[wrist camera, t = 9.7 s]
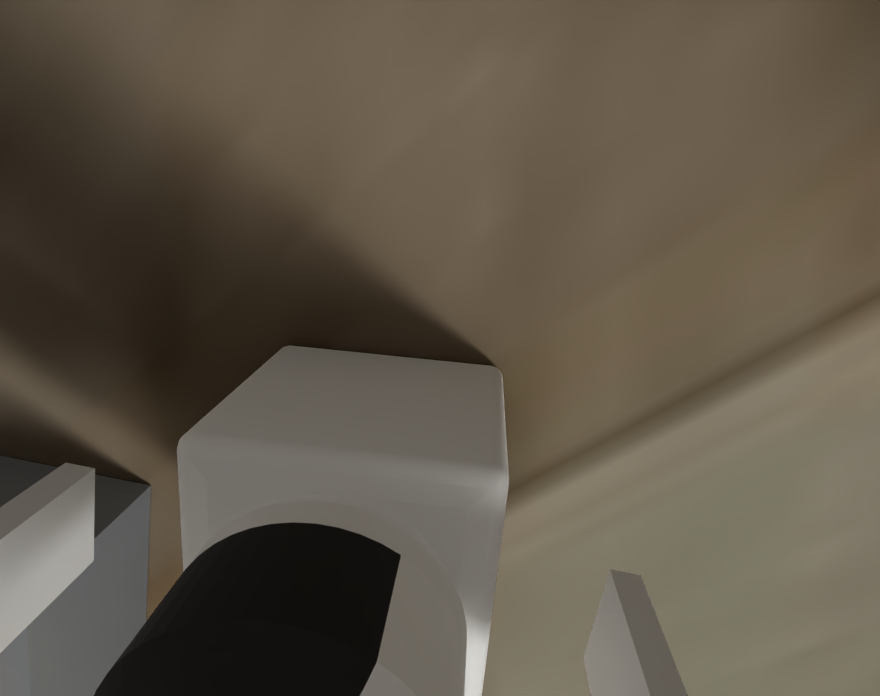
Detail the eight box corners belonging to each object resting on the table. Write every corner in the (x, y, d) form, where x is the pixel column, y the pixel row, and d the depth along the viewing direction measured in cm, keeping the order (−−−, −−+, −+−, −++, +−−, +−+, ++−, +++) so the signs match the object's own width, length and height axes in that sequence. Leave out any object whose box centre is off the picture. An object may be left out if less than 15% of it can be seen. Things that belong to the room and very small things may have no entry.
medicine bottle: (281, 532, 21) (43, 951, 10) (281, 341, 19) (-19, 595, 8) (481, 556, 21) (471, 1018, 10) (503, 363, 19) (525, 663, 8)
